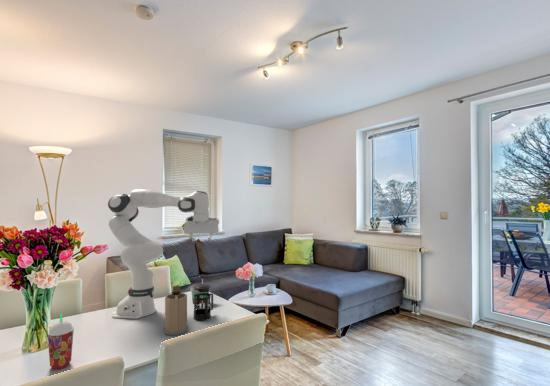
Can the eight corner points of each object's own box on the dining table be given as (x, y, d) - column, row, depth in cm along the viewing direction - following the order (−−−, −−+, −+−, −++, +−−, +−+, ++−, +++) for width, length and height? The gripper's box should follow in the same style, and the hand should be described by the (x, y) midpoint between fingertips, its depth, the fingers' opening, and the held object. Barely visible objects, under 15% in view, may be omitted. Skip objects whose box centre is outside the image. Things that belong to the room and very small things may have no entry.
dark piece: (187, 305, 185) (187, 288, 186) (190, 302, 192) (190, 285, 192) (207, 305, 185) (207, 289, 185) (210, 302, 191) (210, 286, 191)
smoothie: (75, 358, 124) (75, 308, 125) (71, 368, 117) (71, 316, 117) (50, 362, 121) (51, 311, 121) (44, 373, 113) (45, 319, 114)
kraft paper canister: (161, 336, 144) (161, 300, 144) (168, 324, 157) (168, 291, 157) (185, 335, 145) (185, 299, 145) (190, 323, 158) (190, 290, 158)
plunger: (166, 323, 146) (166, 288, 146) (170, 316, 153) (170, 284, 153) (182, 322, 147) (182, 288, 147) (185, 316, 154) (185, 283, 154)
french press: (197, 322, 159) (197, 278, 160) (188, 317, 166) (189, 275, 167) (216, 316, 167) (217, 274, 168) (208, 312, 174) (208, 271, 175)
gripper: (219, 217, 188) (219, 240, 188) (185, 217, 186) (185, 240, 185) (218, 218, 182) (218, 241, 181) (183, 218, 179) (183, 242, 179)
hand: (201, 241), depth 183 cm, fingers open, 8 cm apart
